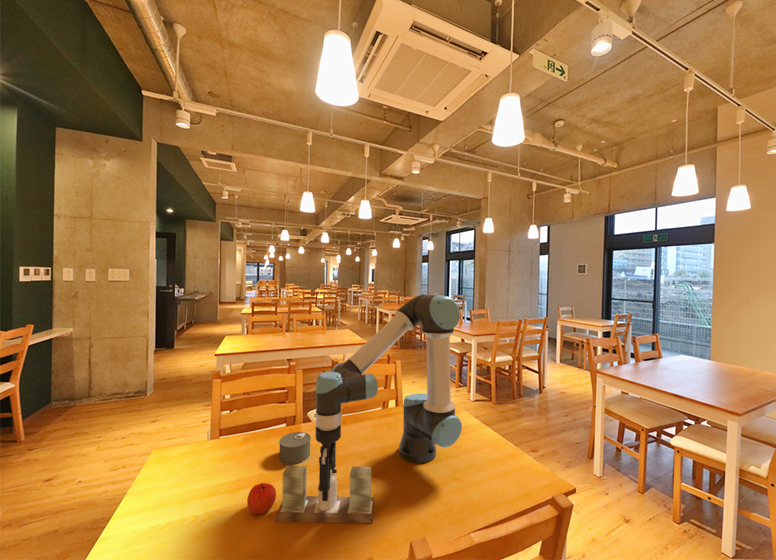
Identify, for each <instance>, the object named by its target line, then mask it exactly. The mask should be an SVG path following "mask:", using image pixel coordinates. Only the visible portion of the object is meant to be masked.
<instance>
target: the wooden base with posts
mask: <svg viewBox="0 0 776 560" xmlns="http://www.w3.org/2000/svg"><path fill="white" fill-rule="evenodd" d="M307 468H308V467H307V465H286V467H285V469H284V470H283V473H282V500H281V501H282V504H281V506H280V507H279V509H278V511H277V514H276V516H275V522H282V523H283V522H285V523H286V522H288V523H289V522H290V523H291V522H294V523H298V522H299V523H339V524H340V523H345V524H355V523H356V524H374V513H375V512H374V509H375V496H373V497H372V466H351V469H350V472H349V473H350V474H349V496H337V500H336V503H335V504H334V505H333V506H332V507H331V508H330V510H325V511H321V510H320V509H319V507H318V495H314V496H313V495H307Z"/></svg>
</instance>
